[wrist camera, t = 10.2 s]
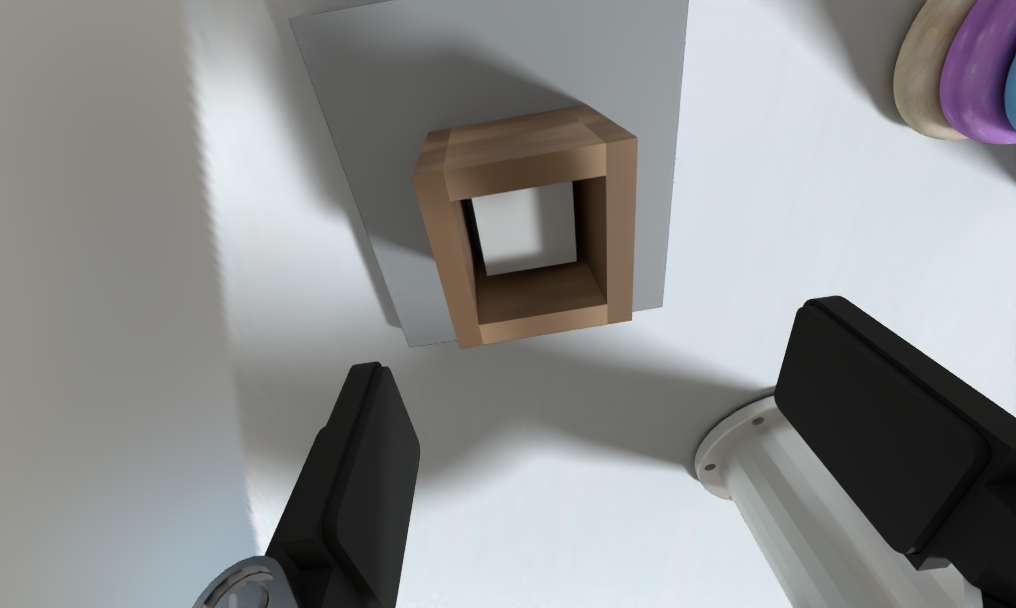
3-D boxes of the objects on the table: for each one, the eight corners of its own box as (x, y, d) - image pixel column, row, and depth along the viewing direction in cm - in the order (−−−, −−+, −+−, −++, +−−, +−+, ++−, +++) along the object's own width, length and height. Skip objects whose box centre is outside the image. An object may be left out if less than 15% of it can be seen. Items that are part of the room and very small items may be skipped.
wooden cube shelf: (586, 104, 16) (638, 137, 11) (591, 247, 20) (632, 320, 15) (429, 131, 16) (411, 176, 11) (461, 269, 20) (459, 348, 15)
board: (675, -47, 15) (751, -74, 11) (652, 292, 24) (691, 348, 19) (302, 19, 15) (241, 16, 11) (412, 331, 24) (400, 395, 20)
